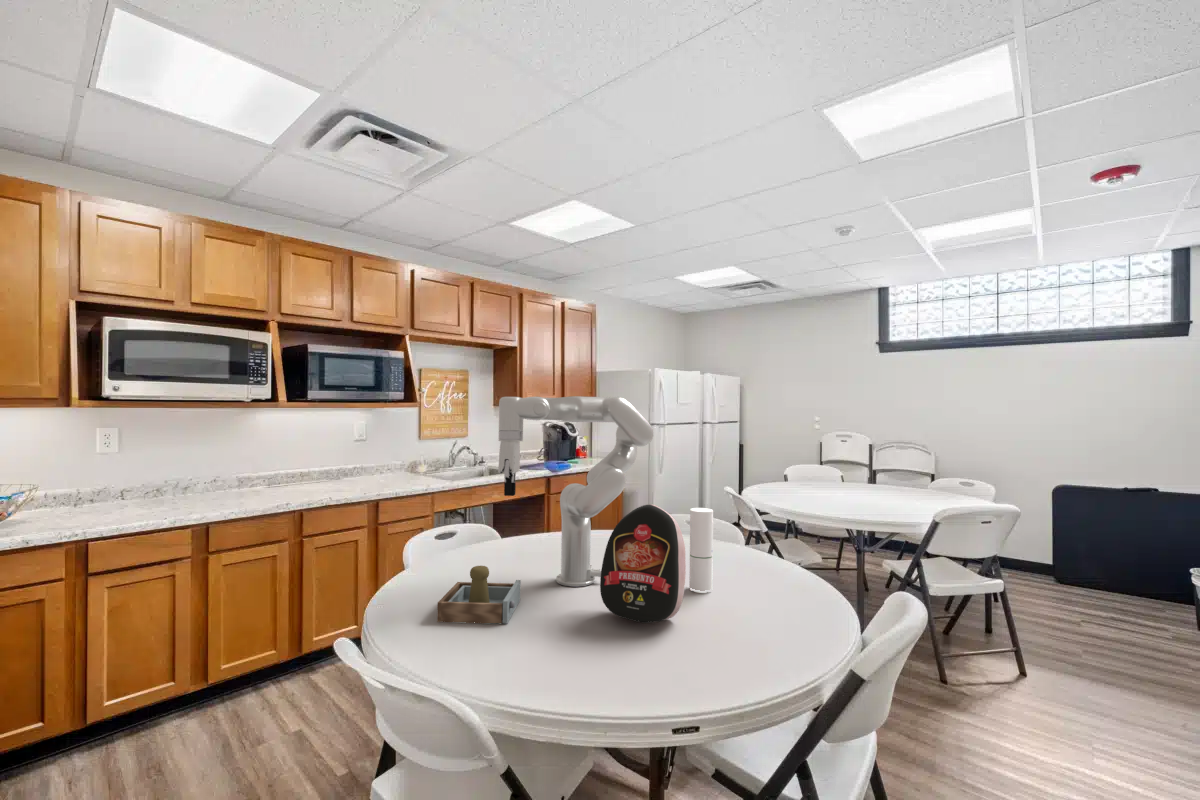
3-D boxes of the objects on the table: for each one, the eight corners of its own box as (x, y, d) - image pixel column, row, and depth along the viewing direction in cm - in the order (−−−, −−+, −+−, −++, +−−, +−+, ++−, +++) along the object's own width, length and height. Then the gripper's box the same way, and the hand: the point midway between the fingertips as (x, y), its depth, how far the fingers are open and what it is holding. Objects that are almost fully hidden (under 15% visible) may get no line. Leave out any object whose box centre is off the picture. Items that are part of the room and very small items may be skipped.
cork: (469, 602, 151) (470, 563, 151) (491, 602, 151) (491, 563, 151) (466, 610, 145) (466, 570, 145) (488, 610, 145) (489, 569, 145)
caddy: (514, 600, 156) (515, 583, 156) (501, 624, 139) (501, 604, 139) (457, 599, 157) (457, 581, 157) (437, 622, 140) (437, 602, 140)
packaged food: (592, 624, 139) (594, 509, 140) (616, 600, 158) (617, 498, 158) (675, 638, 132) (676, 516, 132) (690, 610, 150) (691, 503, 151)
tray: (523, 599, 156) (523, 580, 156) (510, 623, 138) (511, 601, 139) (464, 597, 157) (464, 578, 157) (444, 621, 139) (444, 599, 139)
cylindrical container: (714, 588, 170) (715, 509, 170) (709, 594, 163) (710, 512, 164) (692, 584, 173) (693, 507, 173) (686, 591, 166) (687, 510, 167)
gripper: (504, 435, 174) (503, 491, 174) (493, 437, 159) (491, 499, 159) (527, 435, 174) (526, 492, 173) (518, 437, 159) (517, 499, 158)
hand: (509, 495), depth 166 cm, fingers closed
